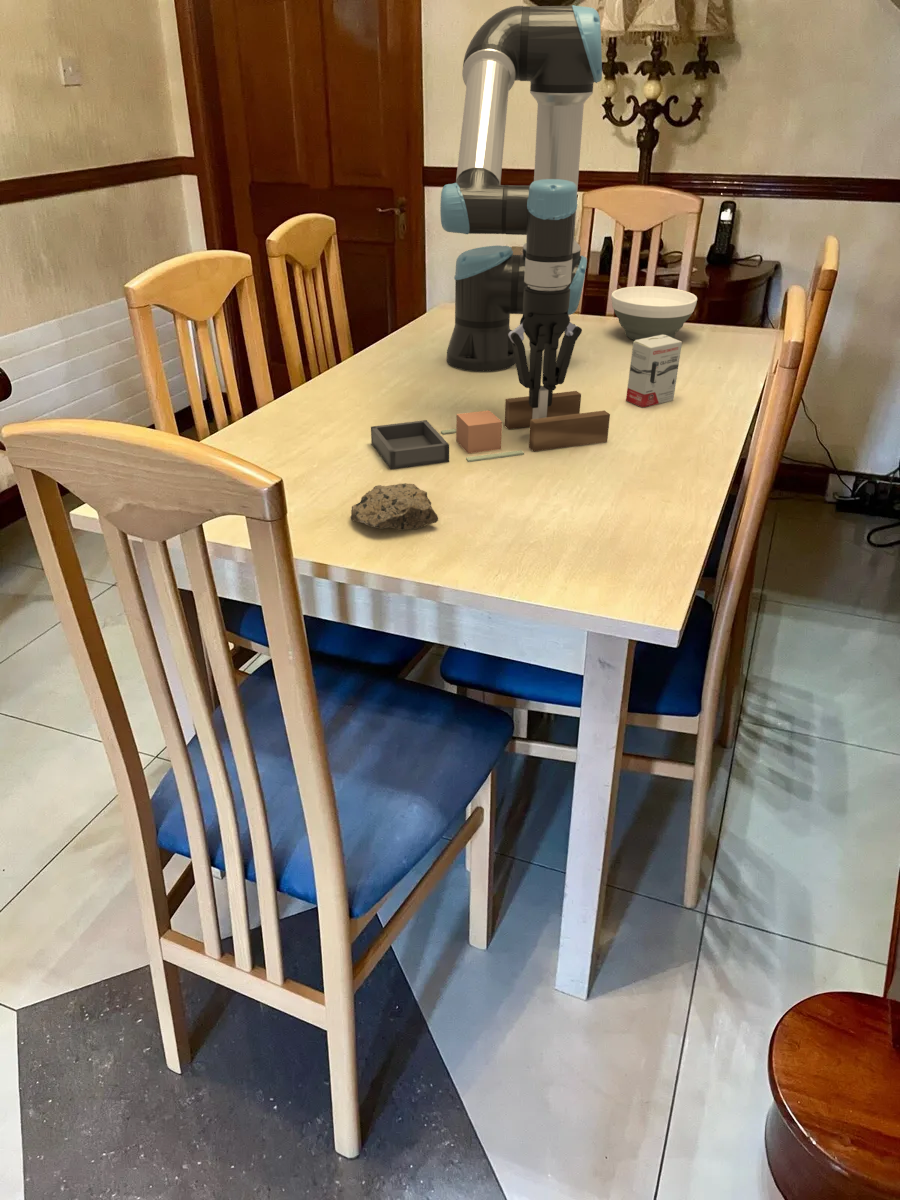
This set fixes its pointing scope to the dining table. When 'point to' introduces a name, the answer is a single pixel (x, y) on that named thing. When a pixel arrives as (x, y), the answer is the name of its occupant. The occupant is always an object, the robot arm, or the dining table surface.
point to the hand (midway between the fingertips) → (539, 424)
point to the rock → (395, 507)
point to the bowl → (652, 310)
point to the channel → (558, 422)
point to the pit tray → (409, 444)
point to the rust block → (478, 431)
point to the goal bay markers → (484, 457)
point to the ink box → (653, 370)
